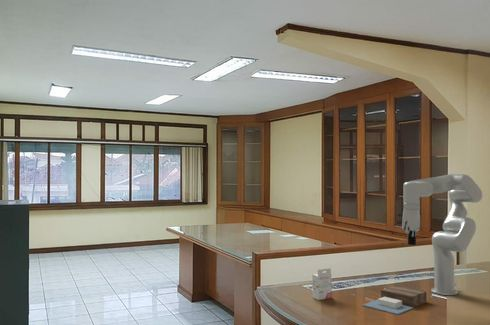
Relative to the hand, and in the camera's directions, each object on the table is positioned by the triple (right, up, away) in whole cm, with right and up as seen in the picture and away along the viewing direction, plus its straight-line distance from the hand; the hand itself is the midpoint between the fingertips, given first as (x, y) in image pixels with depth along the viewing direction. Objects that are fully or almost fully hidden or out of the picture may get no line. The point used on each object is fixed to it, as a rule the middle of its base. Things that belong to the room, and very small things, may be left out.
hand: (412, 244), depth 216 cm
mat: (-16, -27, -12) cm, 33 cm away
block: (-14, -24, -11) cm, 30 cm away
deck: (-5, -27, -3) cm, 28 cm away
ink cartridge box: (-44, -27, +3) cm, 52 cm away
